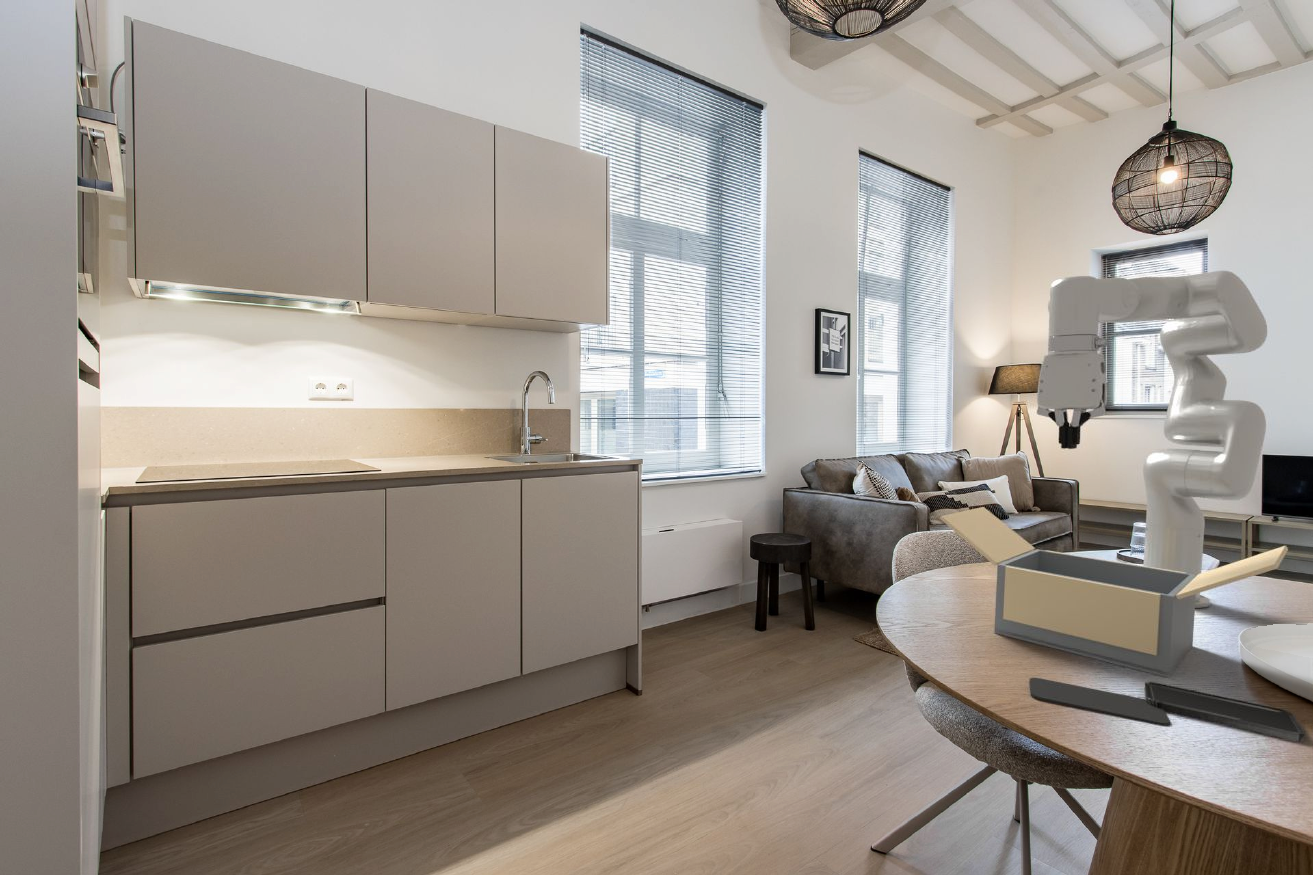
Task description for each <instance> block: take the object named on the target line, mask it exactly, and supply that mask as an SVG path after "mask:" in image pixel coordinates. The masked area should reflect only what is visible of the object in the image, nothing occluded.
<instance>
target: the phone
mask: <svg viewBox="0 0 1313 875" xmlns="http://www.w3.org/2000/svg"><path fill="white" fill-rule="evenodd" d="M1028 682H1029V685H1028V686H1029V693H1030V694H1029V695H1030V696H1031V698H1032V699H1034V700H1037V701H1040V702H1045V703H1048V704H1055V705H1059V706H1063V707H1069V708H1074V709H1078V710H1083V711H1090V712H1094V713H1099V714H1104V715H1107V716H1114V717H1117V718H1123V719H1128V720H1133V721H1138V722H1143V723H1148V724H1152V725H1156V726H1157V725H1158V726H1162V727H1168V726H1170V725H1171V721H1170V718H1169V717H1168V715H1167V713H1166V712H1165V711H1164V710H1163V709H1162V708H1158V707H1154V706H1151V705H1149V704H1148V703H1147V702H1146V699H1145V698H1140V697H1135V696H1132V695H1126V694H1121V693H1116V692H1109V691H1105V690H1100V689H1096V688H1092V687H1091V688H1090V687H1085V686H1080V685H1076V684H1070V683H1065V682H1061V681H1060V682H1059V681H1056V680H1055V681H1054V680H1050V679H1044V678H1039V677H1029V681H1028Z"/></svg>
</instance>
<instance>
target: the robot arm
mask: <svg viewBox="0 0 1313 875" xmlns="http://www.w3.org/2000/svg"><path fill="white" fill-rule="evenodd" d="M1047 303H1048V304H1047V310H1048V314H1049V316H1048V317H1049V318H1048V344H1047V345H1048V346H1047V352H1048V353H1047V355H1044V356H1043V359H1042V363H1041V366H1040V370H1039V371H1040V372H1039V375H1038V376H1039V378H1038V383H1037V384H1038V385H1037V394H1036V395H1037V396H1036V399H1037V400H1036V403H1037V410H1036V414H1037V416H1038V415H1039V416H1043V417H1045V418H1050V419H1051V420H1052V421H1053V422H1054V423H1055V424H1056V426H1057V427H1058V444H1059V445H1060V448H1061V449H1064V450H1065V449H1068V450H1074V449H1077V447H1078V445H1080V443H1081V428H1082V426H1084V424H1085V423H1086V422H1088V421H1089V420H1090V419H1092V418H1099V417H1102V416H1103V417H1104V416H1106V414H1107V411H1106V406H1107V403H1108V385H1107V384H1108V383H1107V382H1108V381H1107V371H1106V362H1105V356H1104V353H1098V351H1099V350H1100V348H1103V347H1107V346H1108V338H1101V337H1100V336H1099V324H1100V323H1103V324H1104V323H1115V324H1117V323H1120V324H1121V323H1137V322H1152V321H1167V322H1165V323H1164V324H1163V325H1162V327H1161V328H1160V332H1159V340H1160V344H1161V347H1162V349H1163V352H1164V353H1165V356H1166V357H1167V358H1166V359H1167V360H1168V362H1169V364H1170V367H1171V369H1172V373H1173V380H1174V382H1173V386H1172V392H1171V395H1170V398H1169V403H1168V407H1167V410H1166V415H1165V420H1164V424H1163V435H1164V437H1165V438H1166V439H1167V440H1168V441H1169V442H1172V443H1174V444H1178V445H1182V446H1183V445H1184V446H1195V447H1196V446H1198V447H1210V448H1212V447H1213V448H1223V450H1222V451H1215V450H1200V449H1186V448H1164V449H1163V448H1162V449H1158V450H1156V451H1153V452H1151V453H1150V454H1149V455H1148V456H1147V457H1146V458H1145V459H1144V463H1143V465H1142V466H1143V467H1142V473H1143V480H1144V486H1145V493H1146V494H1145V495H1146V515H1145V516H1146V517H1145V535H1144V550H1143V565H1142V566H1148V567H1154V568H1160V569H1167V570H1173V571H1179V572H1185V573H1188V574H1194V575H1198V574H1201V573H1202V572H1203V571H1202V570H1203V569H1202V568H1203V556H1204V555H1203V553H1204V539H1205V538H1204V537H1205V536H1204V535H1205V525H1206V522H1205V516H1204V513H1203V511H1202V510H1201V507H1200V506H1199V505H1198V504H1197V502H1196V501H1195V500H1194V498H1203V499H1212V500H1218V501H1219V500H1221V501H1239V500H1240V501H1241V500H1243V499H1244V498H1246V497H1247V496H1248V495H1249V493H1250V492H1251V490H1252V488H1253V485H1254V482H1255V479H1256V475H1257V472H1258V471H1257V470H1258V465H1259V461H1260V458H1261V454H1262V449H1263V446H1264V440H1265V436H1266V430H1267V422H1266V416H1265V412H1264V410H1263V409H1262V407H1261V406H1260V405H1258V404H1256V403H1255V402H1252V401H1248V400H1240V399H1237V400H1236V399H1235V400H1234V399H1233V400H1232V399H1230V400H1229V399H1228V400H1227V399H1225V398H1224V397H1225V393H1226V389H1227V383H1228V381H1227V378H1226V375H1225V374H1224V372H1223V371H1222V370H1221V368H1220V367H1219V366H1217V365H1216V363H1215V362H1213V360H1211V359H1210V358H1209V357H1208V356H1215V355H1216V356H1217V355H1235V354H1237V355H1239V354H1247V353H1251V352H1254V351H1256V350H1257V349H1259V348H1261V347H1262V346H1263V345H1264V343H1265V341H1266V339H1267V337H1268V325H1267V321H1266V318H1265V316H1264V314H1263V312H1262V310H1261V309H1260V307H1259V305H1258V303H1257V302H1256V300H1255V298H1254V296H1253V294H1252V293H1251V291H1250V289H1249V288H1248V286H1247V285H1246V284H1245V282H1244V281H1243V279H1241V278H1240V277H1239V276H1238V275H1237V274H1235V273H1234V272H1232V271H1229V270H1216V271H1210V272H1203V273H1202V272H1201V273H1196V274H1189V275H1181V276H1143V277H1142V276H1141V277H1134V278H1126V277H1125V278H1124V277H1109V278H1108V277H1107V278H1096V277H1094V276H1091V275H1090V276H1089V275H1075V276H1069V277H1063V278H1059V279H1056V280H1055V281H1053V282H1052V284H1051V286H1050V290H1049V299H1048V302H1047ZM1068 410H1073V412H1072V416H1071V417H1072V418H1071V420H1070V421H1069V413H1068ZM1088 410H1089V411H1088ZM1210 603H1211V601H1210V599H1209V598H1208V597H1206V596H1204V595H1202V594H1201V592H1200V593H1197V594H1196V599H1195V609H1197V608H1198V609H1201V608H1202V609H1203V608H1207V607H1209V606H1210Z"/></svg>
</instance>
